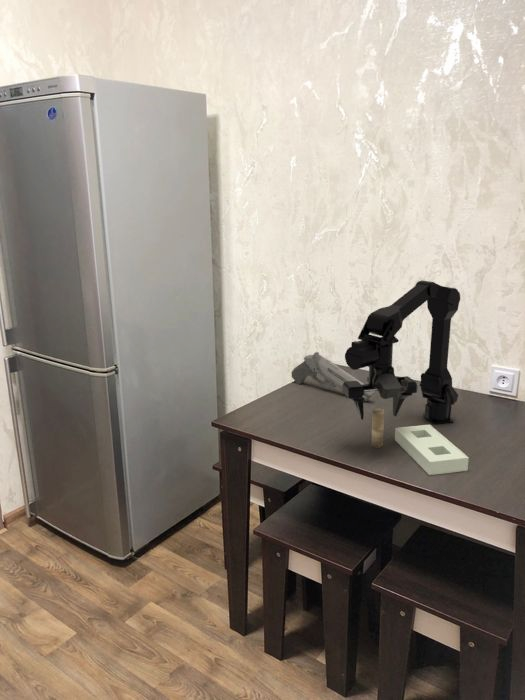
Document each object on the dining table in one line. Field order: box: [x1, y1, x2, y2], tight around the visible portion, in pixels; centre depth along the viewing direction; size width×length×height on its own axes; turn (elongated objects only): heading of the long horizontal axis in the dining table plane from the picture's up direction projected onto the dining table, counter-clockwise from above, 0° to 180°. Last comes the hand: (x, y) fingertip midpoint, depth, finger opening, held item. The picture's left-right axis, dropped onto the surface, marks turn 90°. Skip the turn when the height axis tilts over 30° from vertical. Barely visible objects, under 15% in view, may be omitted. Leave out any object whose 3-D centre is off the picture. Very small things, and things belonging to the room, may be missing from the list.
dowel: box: [370, 407, 385, 449], centre depth 149 cm, size 3×3×10 cm
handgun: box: [290, 351, 376, 402], centre depth 190 cm, size 31×3×15 cm, turn 48°
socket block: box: [394, 424, 470, 476], centre depth 145 cm, size 20×10×4 cm, turn 11°
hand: (378, 417), depth 149 cm, fingers open, 9 cm apart
